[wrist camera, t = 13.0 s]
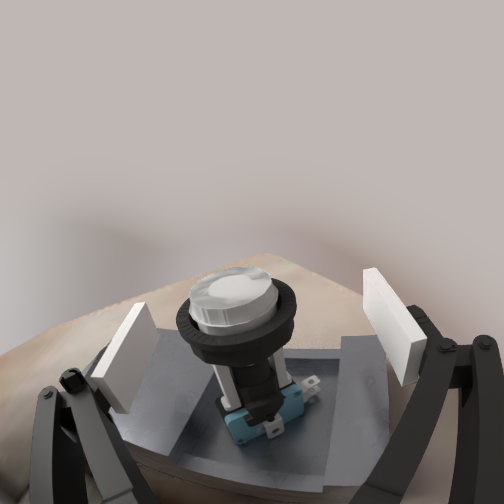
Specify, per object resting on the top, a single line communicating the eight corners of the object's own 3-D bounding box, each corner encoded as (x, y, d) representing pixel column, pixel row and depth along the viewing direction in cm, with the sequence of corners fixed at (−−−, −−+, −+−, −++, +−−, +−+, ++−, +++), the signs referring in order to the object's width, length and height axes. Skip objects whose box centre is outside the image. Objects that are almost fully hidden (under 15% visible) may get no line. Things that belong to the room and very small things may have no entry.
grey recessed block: (78, 432, 17) (53, 403, 16) (140, 353, 27) (126, 324, 25) (375, 504, 10) (388, 484, 9) (379, 370, 20) (383, 334, 18)
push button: (298, 371, 20) (280, 241, 16) (343, 417, 15) (345, 274, 11) (212, 410, 18) (160, 282, 14) (244, 469, 13) (184, 342, 9)
